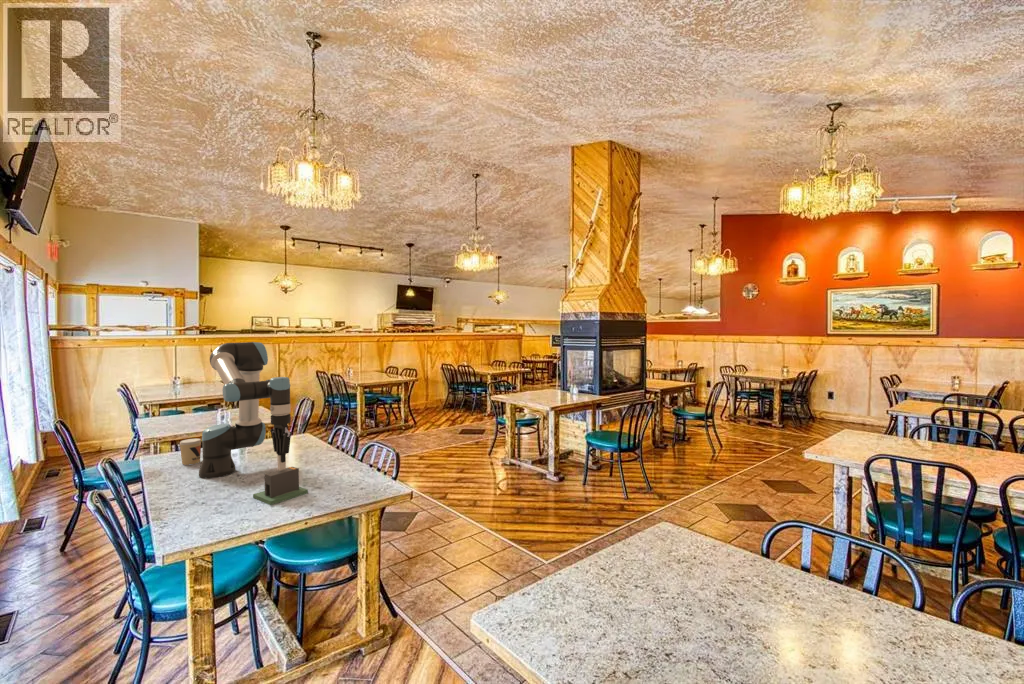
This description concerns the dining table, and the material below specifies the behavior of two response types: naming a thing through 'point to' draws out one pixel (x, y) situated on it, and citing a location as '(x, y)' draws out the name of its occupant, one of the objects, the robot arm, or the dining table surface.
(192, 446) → the coffee cup
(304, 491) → the header board
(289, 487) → the plug housing
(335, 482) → the dining table surface
